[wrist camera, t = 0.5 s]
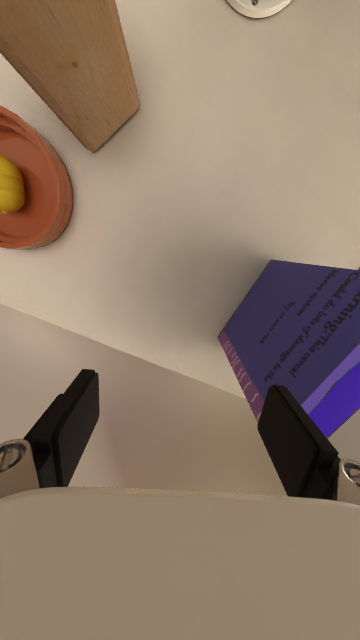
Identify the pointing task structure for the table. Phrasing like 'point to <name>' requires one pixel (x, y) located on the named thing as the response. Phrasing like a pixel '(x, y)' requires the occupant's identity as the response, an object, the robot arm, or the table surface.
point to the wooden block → (73, 62)
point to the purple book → (300, 340)
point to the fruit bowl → (33, 186)
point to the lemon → (10, 186)
